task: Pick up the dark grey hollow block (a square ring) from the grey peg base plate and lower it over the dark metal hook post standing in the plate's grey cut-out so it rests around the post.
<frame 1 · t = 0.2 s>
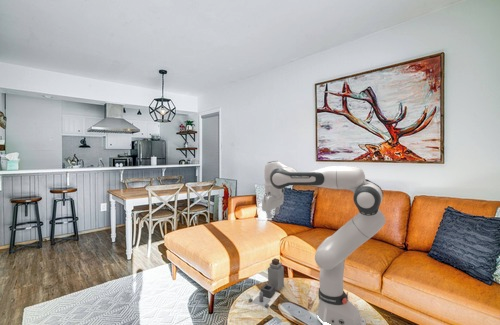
hand: (273, 216, 138), 47 cm above the table, fingers open, 8 cm apart
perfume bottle: (276, 289, 151), on the table
grey peg base plate: (264, 300, 141), on the table
dark grey hollow block: (267, 294, 143), point 1 cm above the table, touching grey peg base plate
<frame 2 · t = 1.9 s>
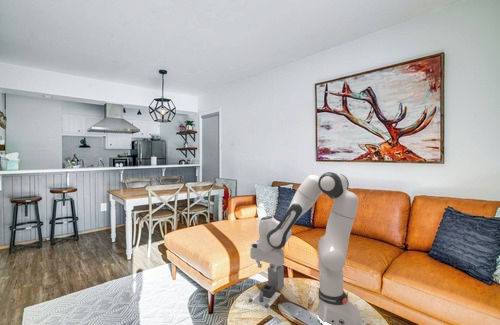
hand: (267, 269, 143), 16 cm above the table, fingers open, 8 cm apart
nothing on the table moved.
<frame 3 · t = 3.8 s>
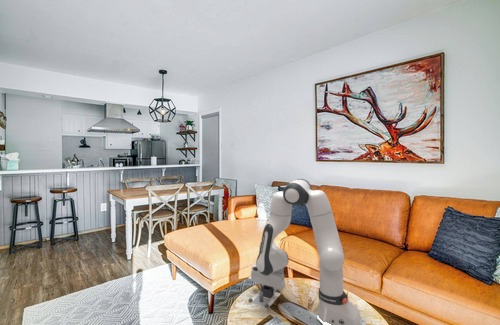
hand: (267, 292, 143), 3 cm above the table, fingers closed on dark grey hollow block, 6 cm apart
dark grey hollow block: (267, 294, 143), point 2 cm above the table, touching gripper, grey peg base plate
everything else where it was.
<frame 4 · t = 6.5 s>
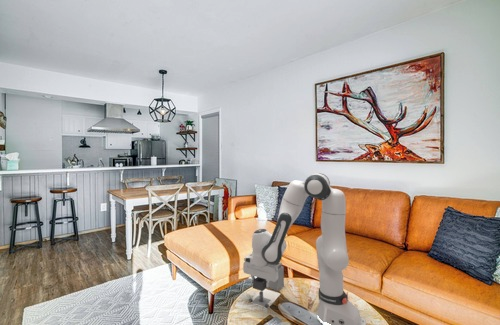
hand: (260, 284, 137), 11 cm above the table, fingers closed on dark grey hollow block, 6 cm apart
dark grey hollow block: (260, 287, 137), point 9 cm above the table, touching gripper
everything else where it was.
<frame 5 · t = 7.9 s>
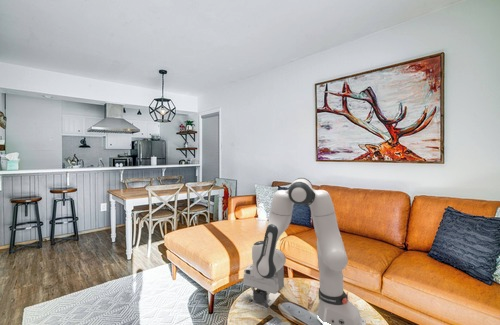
hand: (260, 296, 137), 4 cm above the table, fingers closed on dark grey hollow block, 6 cm apart
dark grey hollow block: (260, 298, 137), point 3 cm above the table, touching gripper
everything else where it was.
when the fingers open (4 cm above the table, at t = 9.2 s): dark grey hollow block drops 1 cm, resting on grey peg base plate.
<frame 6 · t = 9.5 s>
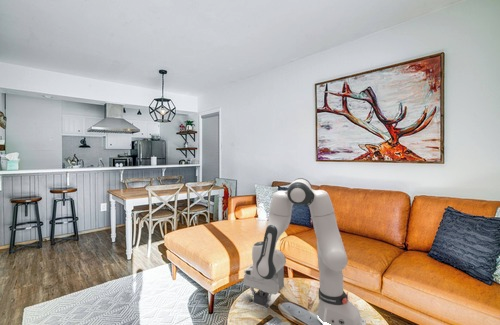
hand: (261, 296, 137), 4 cm above the table, fingers open, 8 cm apart
dark grey hollow block: (261, 301, 137), point 2 cm above the table, touching grey peg base plate
everything else where it was.
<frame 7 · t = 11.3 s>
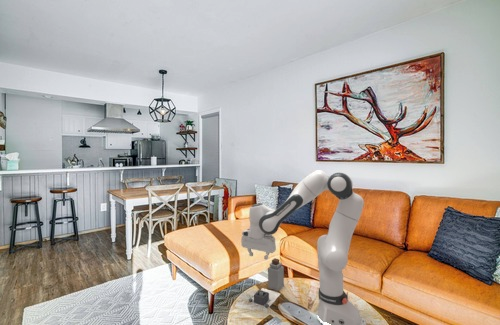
hand: (258, 257, 140), 24 cm above the table, fingers open, 8 cm apart
nothing on the table moved.
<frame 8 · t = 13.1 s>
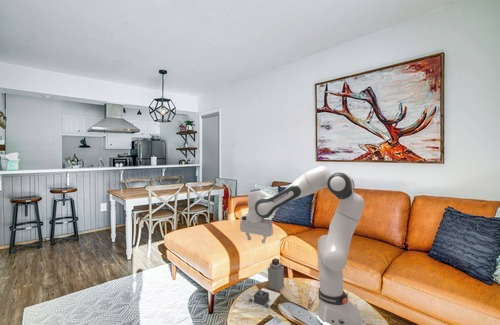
hand: (256, 241, 145), 31 cm above the table, fingers open, 8 cm apart
nothing on the table moved.
at the end: dark grey hollow block 0.1 cm from the target spot on the grey peg base plate, point 1.7 cm above the grey peg base plate's base; dark grey hollow block tilted 0°; the gripper is holding nothing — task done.
